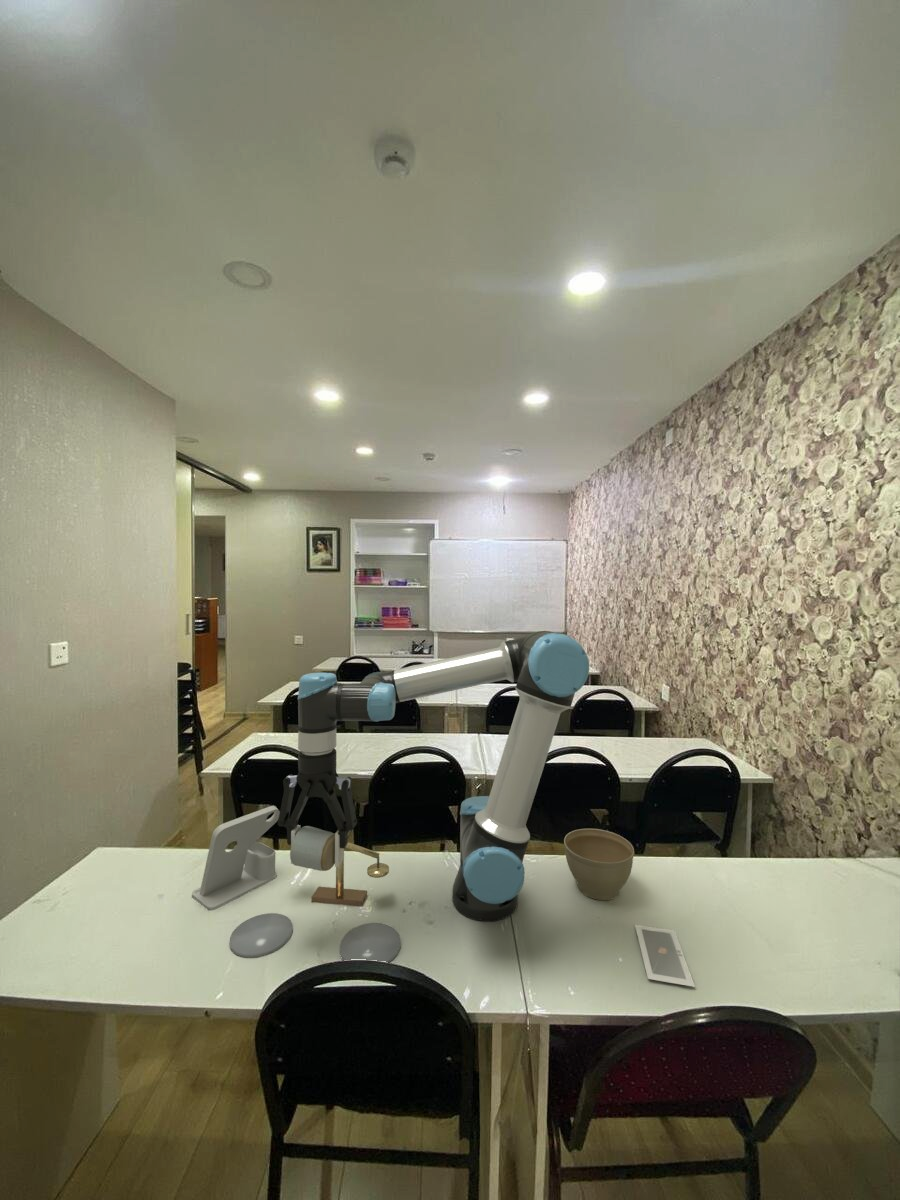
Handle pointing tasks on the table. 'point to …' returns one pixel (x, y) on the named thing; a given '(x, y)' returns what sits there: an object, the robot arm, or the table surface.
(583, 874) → the planter bowl
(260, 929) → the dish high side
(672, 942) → the touchpad
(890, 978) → the table surface
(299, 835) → the ceramic mug
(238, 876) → the phone holder
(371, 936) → the dish low side
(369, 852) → the balance
